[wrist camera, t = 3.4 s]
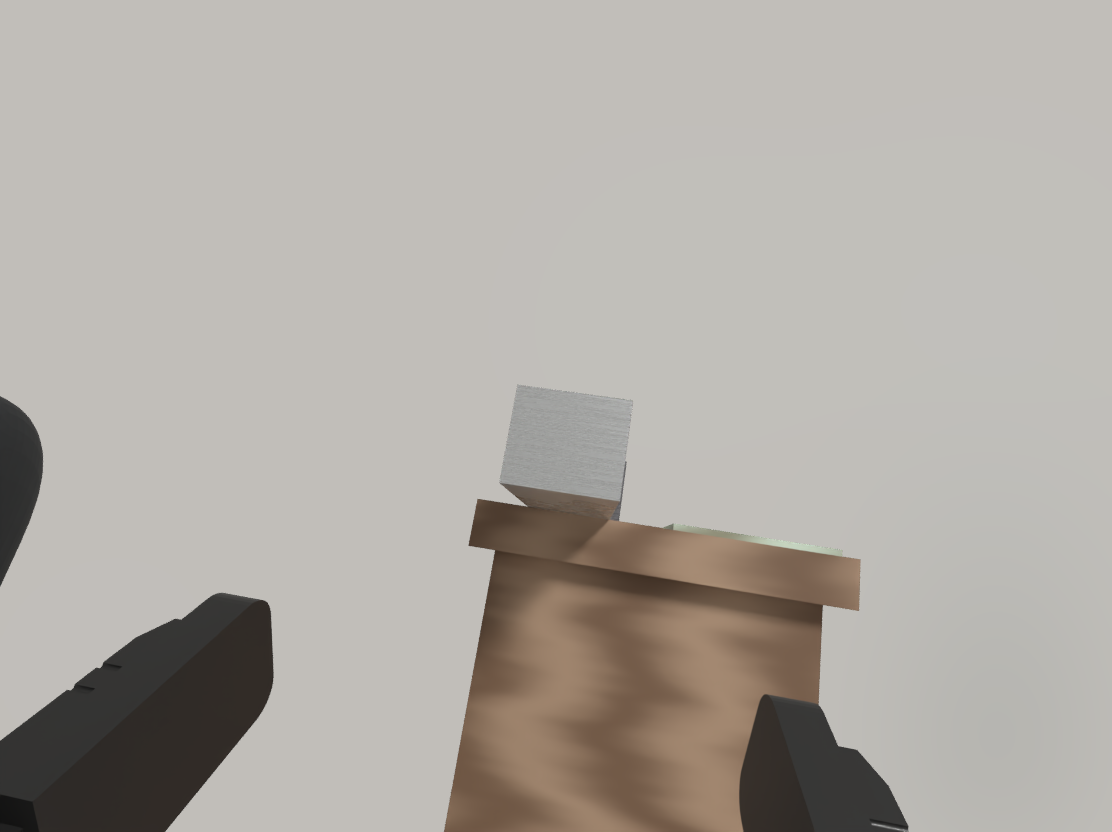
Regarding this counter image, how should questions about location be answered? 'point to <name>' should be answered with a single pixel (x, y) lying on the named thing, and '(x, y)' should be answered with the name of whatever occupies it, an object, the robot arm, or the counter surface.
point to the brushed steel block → (567, 451)
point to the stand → (631, 669)
